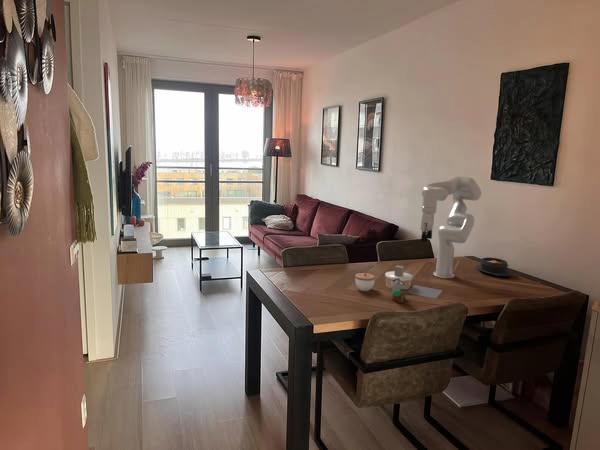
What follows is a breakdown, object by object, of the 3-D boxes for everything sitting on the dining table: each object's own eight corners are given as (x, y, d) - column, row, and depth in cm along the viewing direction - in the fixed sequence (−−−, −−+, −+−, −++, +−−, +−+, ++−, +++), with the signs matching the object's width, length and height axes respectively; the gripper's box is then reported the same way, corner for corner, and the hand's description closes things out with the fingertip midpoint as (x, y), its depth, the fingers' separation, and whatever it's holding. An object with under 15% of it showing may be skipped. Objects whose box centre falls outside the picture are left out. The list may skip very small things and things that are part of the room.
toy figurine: (386, 295, 229) (388, 277, 227) (398, 296, 230) (399, 277, 228) (393, 304, 217) (395, 285, 215) (405, 304, 217) (407, 285, 216)
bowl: (390, 282, 253) (391, 272, 252) (412, 286, 246) (413, 276, 245) (382, 287, 242) (383, 277, 241) (405, 292, 235) (406, 282, 234)
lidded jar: (373, 293, 232) (374, 276, 230) (353, 291, 234) (354, 274, 232) (374, 287, 242) (375, 271, 241) (355, 285, 245) (356, 269, 243)
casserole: (518, 278, 270) (520, 265, 269) (492, 279, 266) (494, 266, 265) (492, 267, 294) (494, 255, 293) (468, 267, 290) (469, 255, 289)
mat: (414, 285, 247) (414, 284, 247) (442, 291, 239) (443, 290, 239) (405, 293, 234) (405, 292, 234) (435, 299, 226) (435, 298, 226)
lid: (390, 271, 253) (391, 261, 252) (415, 276, 246) (416, 265, 245) (381, 277, 240) (382, 267, 239) (407, 282, 233) (408, 272, 232)
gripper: (426, 207, 252) (423, 236, 255) (418, 211, 238) (415, 241, 241) (439, 209, 248) (436, 238, 252) (431, 212, 234) (429, 243, 237)
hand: (426, 239), depth 246 cm, fingers open, 9 cm apart
